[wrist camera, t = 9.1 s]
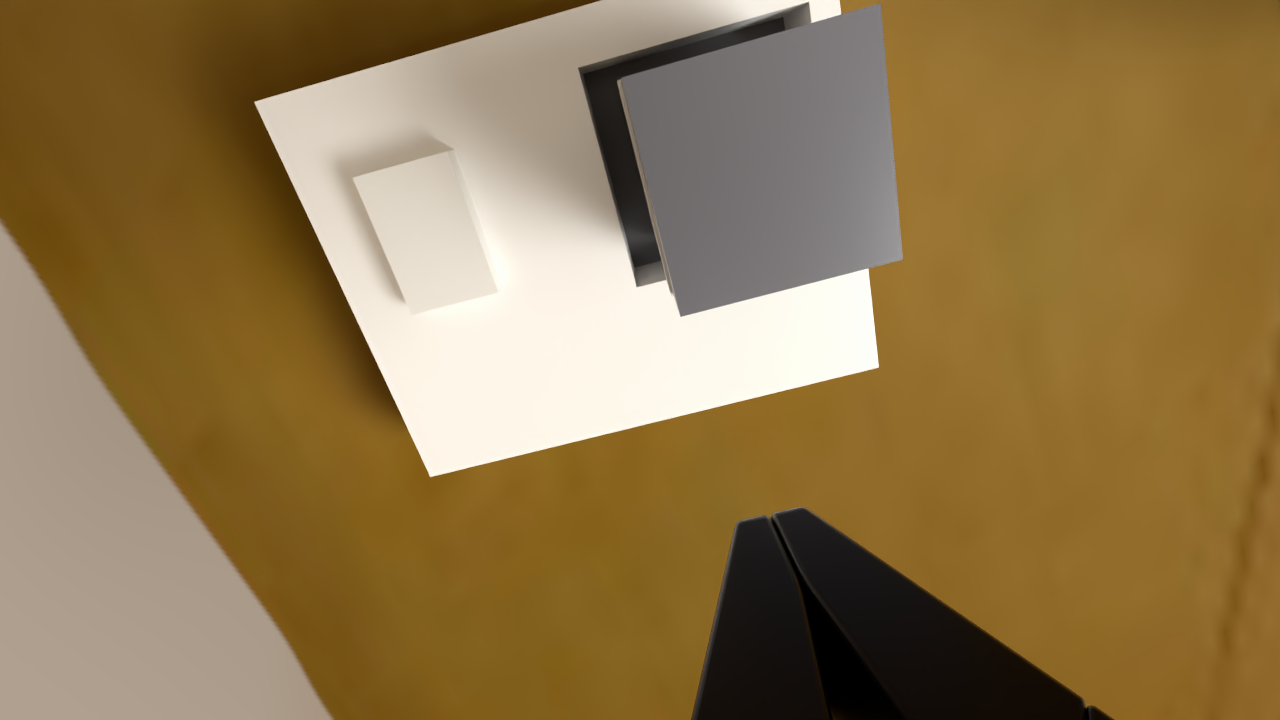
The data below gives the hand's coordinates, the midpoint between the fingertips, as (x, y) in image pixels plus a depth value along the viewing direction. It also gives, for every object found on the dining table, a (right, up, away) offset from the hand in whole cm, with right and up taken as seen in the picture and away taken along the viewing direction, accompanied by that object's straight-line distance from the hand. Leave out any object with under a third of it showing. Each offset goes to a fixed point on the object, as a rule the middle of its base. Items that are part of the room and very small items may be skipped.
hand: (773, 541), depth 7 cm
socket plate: (-3, +6, +11) cm, 13 cm away
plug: (0, +8, +10) cm, 13 cm away
